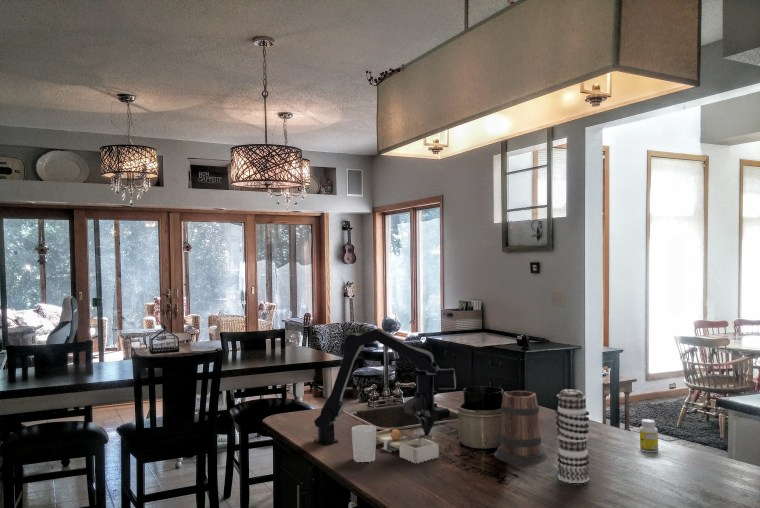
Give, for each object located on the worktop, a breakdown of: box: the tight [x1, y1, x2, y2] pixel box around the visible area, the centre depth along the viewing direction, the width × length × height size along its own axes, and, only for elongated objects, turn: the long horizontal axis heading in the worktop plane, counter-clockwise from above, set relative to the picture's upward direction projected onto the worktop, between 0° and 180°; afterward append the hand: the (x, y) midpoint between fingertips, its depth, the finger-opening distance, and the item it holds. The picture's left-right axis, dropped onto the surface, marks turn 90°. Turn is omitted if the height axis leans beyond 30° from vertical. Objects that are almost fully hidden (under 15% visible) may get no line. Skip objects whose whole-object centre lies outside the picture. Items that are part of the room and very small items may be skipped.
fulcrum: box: [380, 435, 408, 453], centre depth 198 cm, size 5×9×3 cm, turn 125°
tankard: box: [493, 390, 549, 465], centre depth 192 cm, size 24×17×20 cm
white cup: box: [351, 424, 377, 464], centre depth 187 cm, size 8×8×10 cm
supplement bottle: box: [639, 418, 659, 453], centre depth 192 cm, size 5×5×10 cm
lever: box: [376, 428, 436, 449], centre depth 201 cm, size 16×15×2 cm
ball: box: [390, 428, 402, 440], centre depth 198 cm, size 4×4×4 cm
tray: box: [399, 438, 440, 465], centre depth 188 cm, size 8×10×4 cm
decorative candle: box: [554, 388, 590, 484], centre depth 168 cm, size 9×9×25 cm
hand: (426, 435), depth 199 cm, fingers closed, pressing on lever
